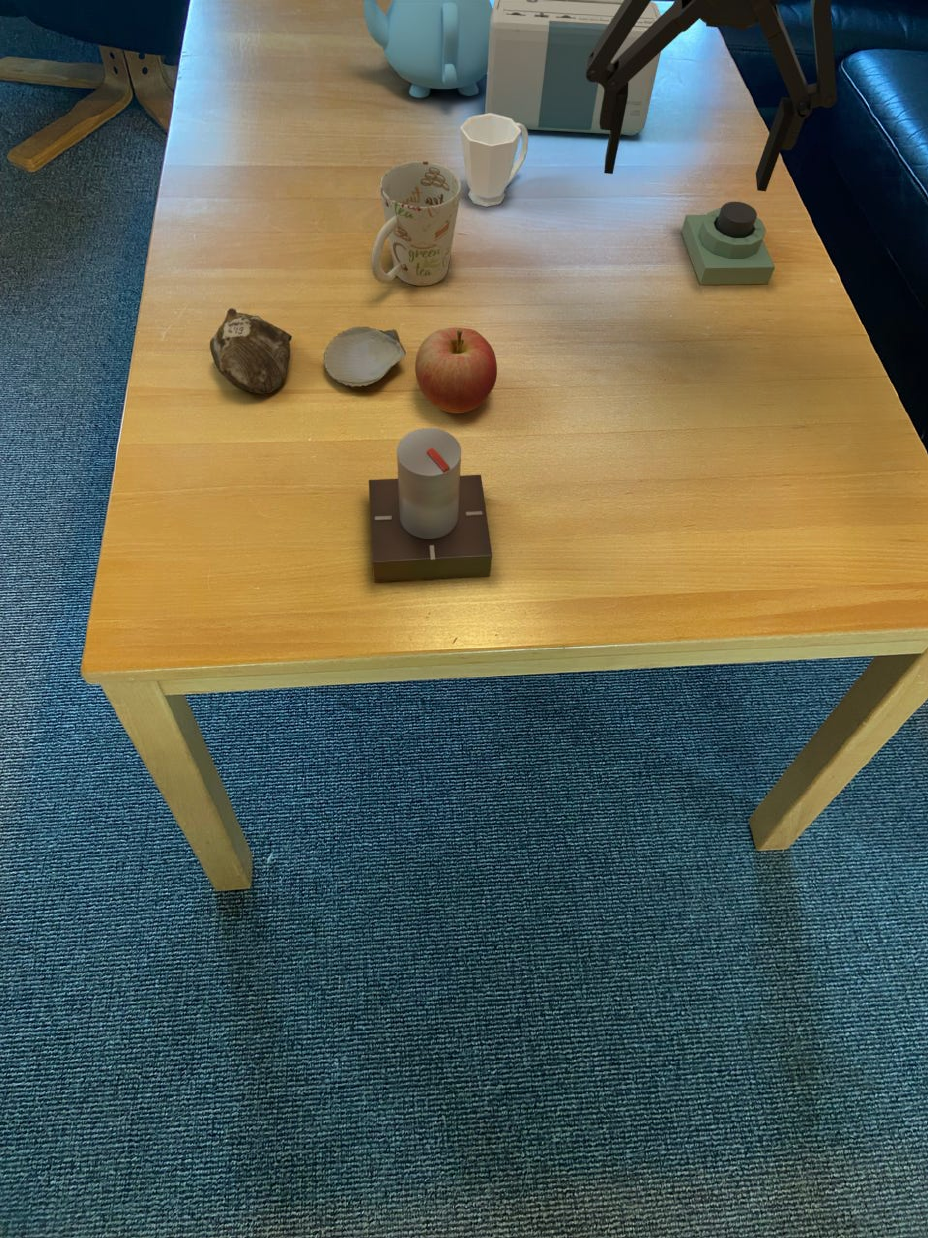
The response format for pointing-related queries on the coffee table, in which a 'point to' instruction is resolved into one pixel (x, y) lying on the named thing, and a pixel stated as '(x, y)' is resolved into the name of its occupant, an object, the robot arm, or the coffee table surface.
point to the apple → (456, 369)
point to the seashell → (362, 355)
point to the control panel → (429, 557)
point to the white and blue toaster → (559, 64)
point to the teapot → (434, 41)
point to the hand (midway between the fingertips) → (684, 174)
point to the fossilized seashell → (251, 352)
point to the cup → (491, 155)
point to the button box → (726, 252)
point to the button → (736, 219)
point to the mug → (417, 222)
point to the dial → (429, 482)
